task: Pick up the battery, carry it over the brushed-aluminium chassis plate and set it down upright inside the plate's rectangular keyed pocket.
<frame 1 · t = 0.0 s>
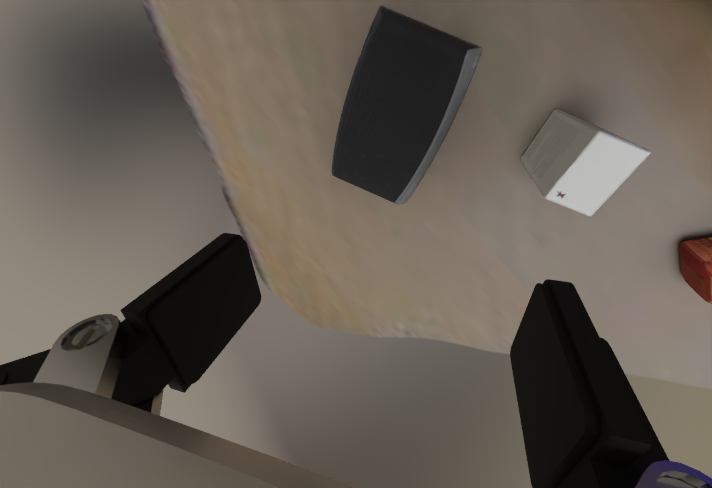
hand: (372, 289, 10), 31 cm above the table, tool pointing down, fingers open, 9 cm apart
skincare box: (553, 141, 33), on the table
external hard drive: (395, 118, 37), on the table
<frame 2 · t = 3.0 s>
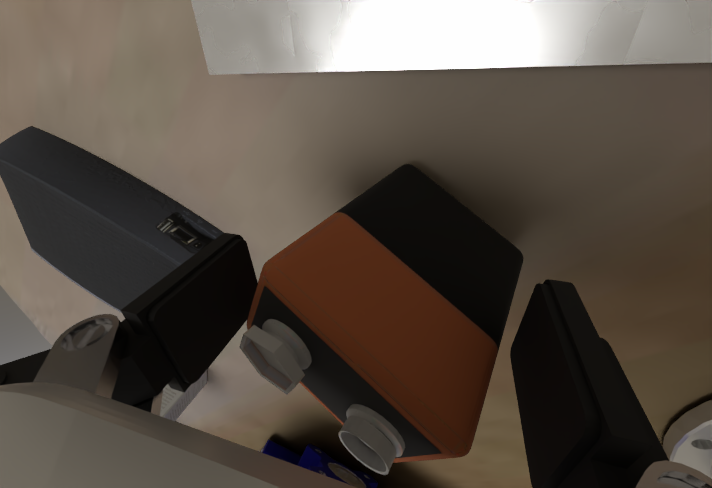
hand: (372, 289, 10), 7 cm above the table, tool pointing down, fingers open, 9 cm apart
skincare box: (189, 362, 35), on the table
external hard drive: (146, 235, 26), on the table
battery: (440, 231, 15), point 1 cm above the table
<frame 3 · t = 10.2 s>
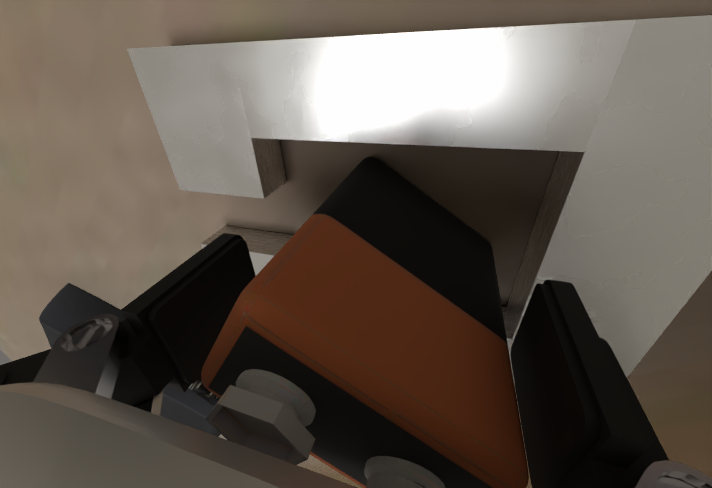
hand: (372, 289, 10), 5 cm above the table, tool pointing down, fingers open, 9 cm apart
external hard drive: (163, 357, 31), on the table
battery: (405, 228, 14), resting in chassis plate
chassis plate: (398, 222, 13), on the table
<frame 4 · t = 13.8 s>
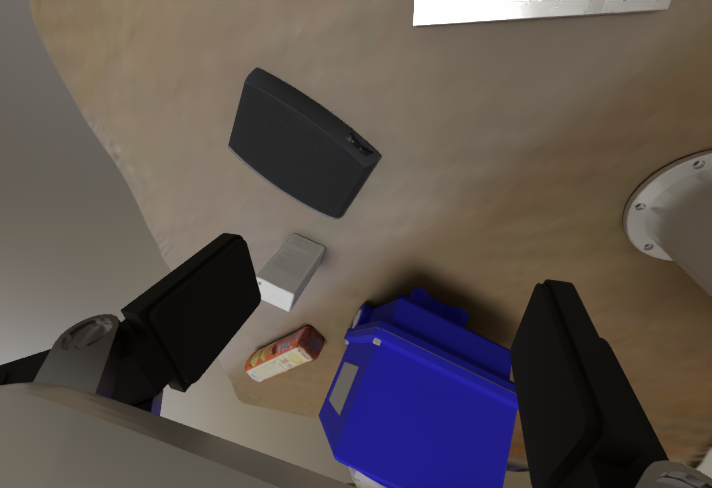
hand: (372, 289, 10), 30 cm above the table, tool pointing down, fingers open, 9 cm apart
snack package: (290, 342, 68), on the table
skincare box: (308, 248, 50), on the table
external hard drive: (305, 148, 41), on the table
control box: (428, 341, 54), on the table
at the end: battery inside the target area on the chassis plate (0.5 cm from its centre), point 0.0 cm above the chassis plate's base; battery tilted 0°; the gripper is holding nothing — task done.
